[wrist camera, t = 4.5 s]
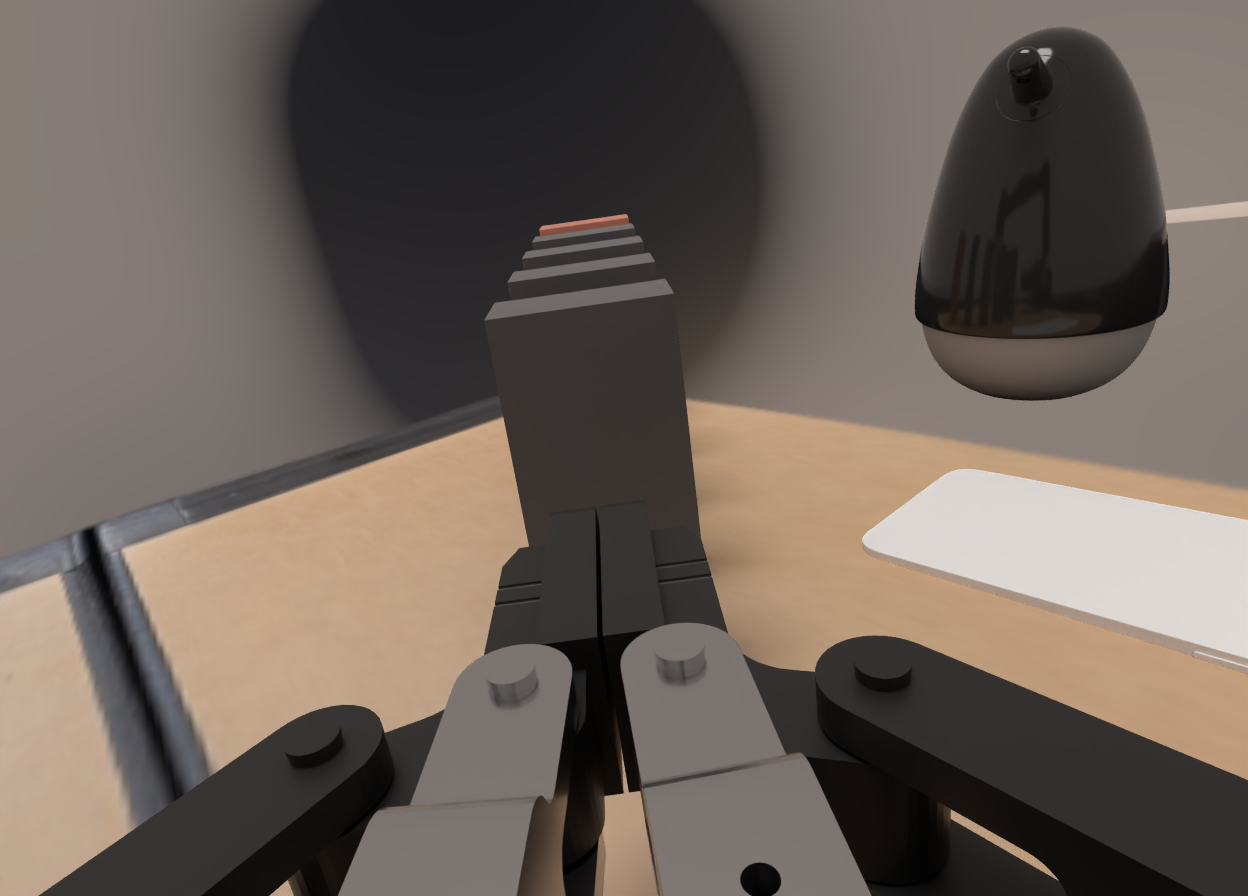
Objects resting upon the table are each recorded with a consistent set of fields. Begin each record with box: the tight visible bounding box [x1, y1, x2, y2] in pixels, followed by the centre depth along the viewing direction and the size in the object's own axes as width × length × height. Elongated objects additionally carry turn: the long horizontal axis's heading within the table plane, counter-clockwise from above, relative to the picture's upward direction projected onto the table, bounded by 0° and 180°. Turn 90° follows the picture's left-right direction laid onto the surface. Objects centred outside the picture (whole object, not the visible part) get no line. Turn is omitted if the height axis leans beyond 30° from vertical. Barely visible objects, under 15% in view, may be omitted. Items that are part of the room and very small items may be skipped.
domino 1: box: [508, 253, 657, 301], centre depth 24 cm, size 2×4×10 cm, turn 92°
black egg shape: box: [915, 27, 1170, 401], centre depth 35 cm, size 10×10×15 cm
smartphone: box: [862, 469, 1248, 674], centre depth 22 cm, size 7×1×15 cm
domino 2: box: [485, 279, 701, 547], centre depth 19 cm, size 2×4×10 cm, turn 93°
